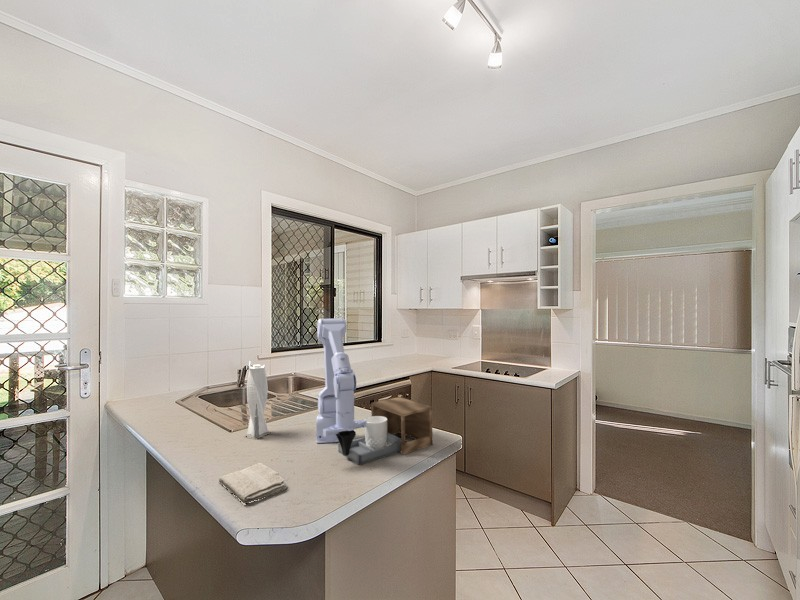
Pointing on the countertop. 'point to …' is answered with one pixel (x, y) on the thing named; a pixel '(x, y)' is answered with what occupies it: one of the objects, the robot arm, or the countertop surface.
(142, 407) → the countertop surface
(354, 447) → the tray
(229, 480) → the washcloth
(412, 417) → the shelf
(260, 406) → the skyscraper
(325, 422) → the robot arm
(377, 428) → the white cup
